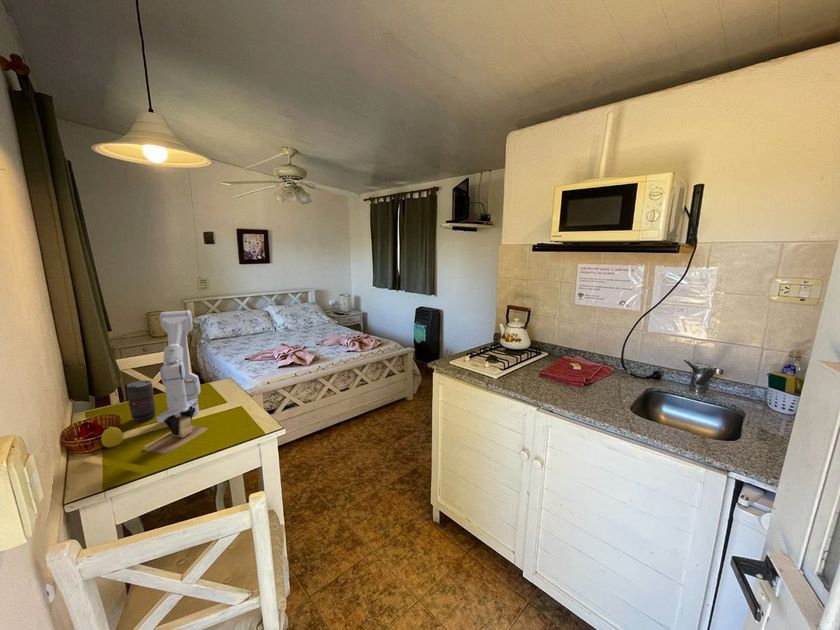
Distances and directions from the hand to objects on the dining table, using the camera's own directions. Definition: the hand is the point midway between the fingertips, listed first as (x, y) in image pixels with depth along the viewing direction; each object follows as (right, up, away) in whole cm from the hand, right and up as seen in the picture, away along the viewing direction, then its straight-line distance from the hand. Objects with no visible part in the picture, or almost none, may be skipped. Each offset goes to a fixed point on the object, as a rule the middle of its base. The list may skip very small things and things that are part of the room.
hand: (181, 431), depth 125 cm
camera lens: (-26, 0, +15) cm, 30 cm away
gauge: (0, -1, 0) cm, 1 cm away
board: (0, -3, -2) cm, 4 cm away
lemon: (-20, -4, -5) cm, 21 cm away
